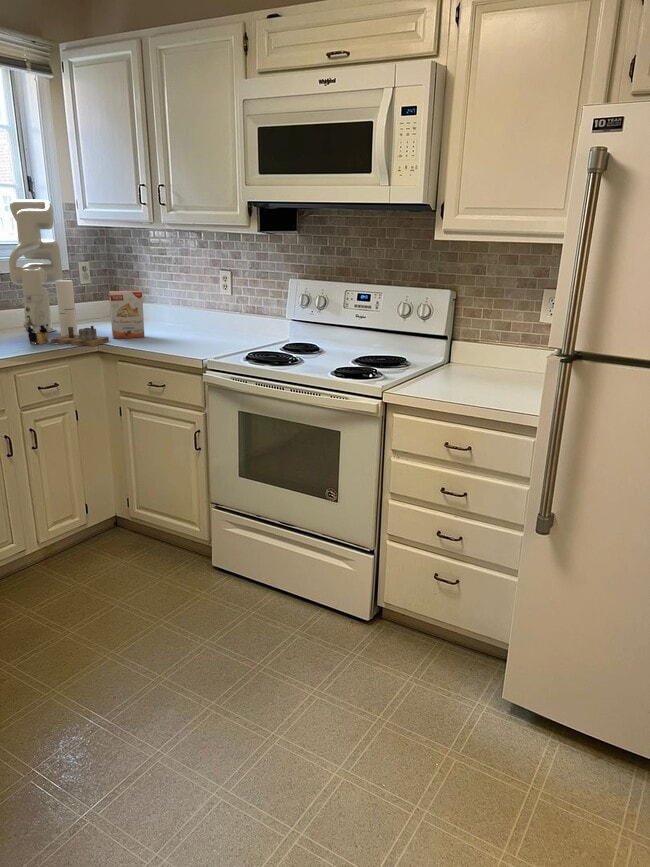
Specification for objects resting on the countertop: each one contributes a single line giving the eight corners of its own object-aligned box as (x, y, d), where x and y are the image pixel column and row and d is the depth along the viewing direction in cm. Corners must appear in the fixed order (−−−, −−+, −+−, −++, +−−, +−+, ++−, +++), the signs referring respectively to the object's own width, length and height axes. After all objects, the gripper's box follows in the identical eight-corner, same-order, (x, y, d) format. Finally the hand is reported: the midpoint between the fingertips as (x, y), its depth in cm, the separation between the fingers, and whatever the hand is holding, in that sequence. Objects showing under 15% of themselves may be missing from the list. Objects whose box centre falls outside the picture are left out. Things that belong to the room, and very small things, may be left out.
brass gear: (26, 343, 276) (25, 334, 275) (36, 340, 283) (35, 331, 282) (41, 344, 275) (40, 335, 274) (51, 341, 282) (50, 332, 280)
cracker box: (113, 339, 292) (109, 292, 285) (112, 337, 297) (108, 290, 291) (145, 337, 297) (142, 291, 291) (143, 335, 302) (140, 290, 296)
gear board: (50, 343, 277) (48, 326, 275) (68, 339, 289) (66, 322, 287) (93, 346, 274) (91, 328, 271) (108, 341, 286) (107, 324, 284)
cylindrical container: (77, 337, 295) (71, 281, 288) (60, 337, 293) (54, 281, 285) (78, 334, 302) (72, 280, 294) (61, 335, 299) (55, 280, 292)
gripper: (28, 301, 264) (34, 344, 270) (54, 297, 281) (58, 337, 286) (12, 300, 266) (18, 343, 271) (38, 296, 282) (43, 336, 288)
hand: (38, 340), depth 279 cm, fingers closed on brass gear, 7 cm apart
